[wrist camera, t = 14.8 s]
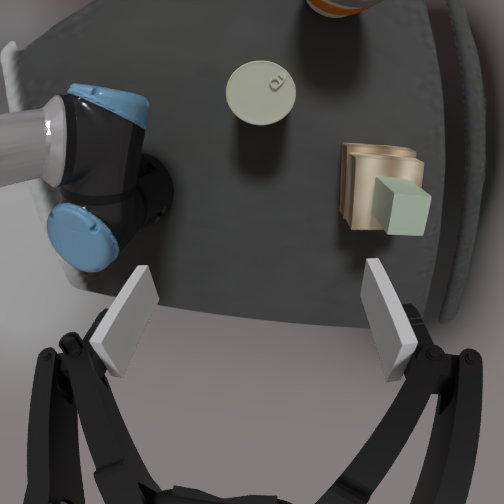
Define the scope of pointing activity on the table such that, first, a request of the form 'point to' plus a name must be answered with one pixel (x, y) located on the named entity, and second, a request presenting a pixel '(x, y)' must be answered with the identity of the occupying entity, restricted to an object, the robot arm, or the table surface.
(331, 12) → the reusable coffee cup
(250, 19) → the table surface
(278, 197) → the table surface
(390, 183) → the green block
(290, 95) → the can
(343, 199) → the block
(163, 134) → the table surface
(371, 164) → the tower top
